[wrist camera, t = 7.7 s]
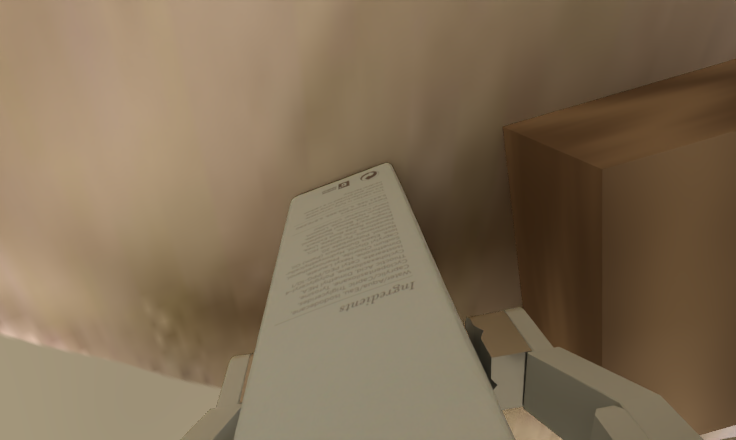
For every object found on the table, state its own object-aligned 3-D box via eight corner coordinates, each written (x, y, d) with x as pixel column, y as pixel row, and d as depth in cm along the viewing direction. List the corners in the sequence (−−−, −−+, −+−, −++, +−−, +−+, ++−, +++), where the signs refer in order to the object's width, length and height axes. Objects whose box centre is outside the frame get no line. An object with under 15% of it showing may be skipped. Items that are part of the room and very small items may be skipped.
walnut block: (797, 39, 15) (1069, 34, 10) (747, 286, 20) (907, 375, 15) (499, 125, 15) (602, 169, 10) (525, 350, 20) (602, 463, 15)
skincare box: (286, 197, 15) (128, 640, 4) (396, 155, 14) (559, 524, 4) (347, 314, 17) (353, 779, 7) (441, 282, 17) (618, 724, 6)
